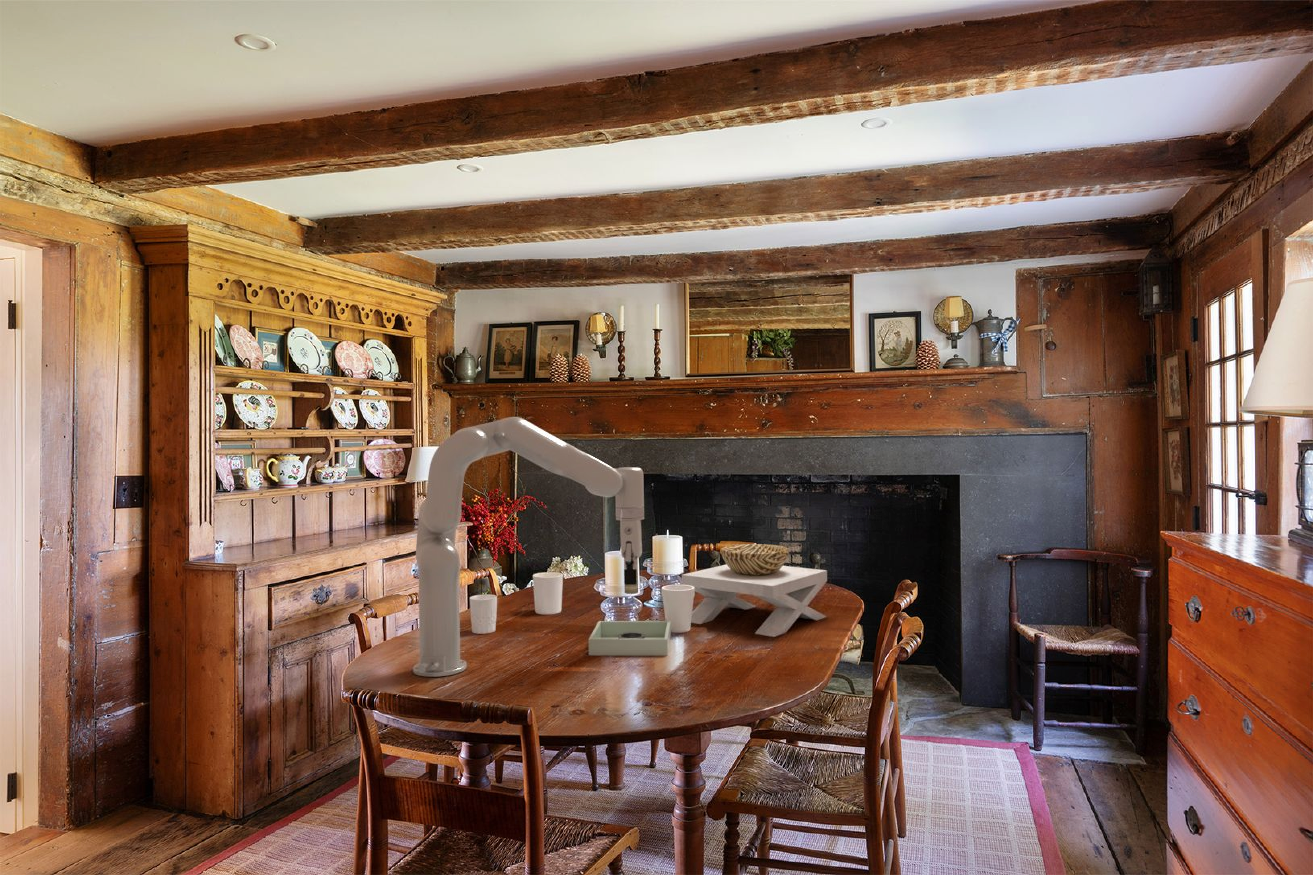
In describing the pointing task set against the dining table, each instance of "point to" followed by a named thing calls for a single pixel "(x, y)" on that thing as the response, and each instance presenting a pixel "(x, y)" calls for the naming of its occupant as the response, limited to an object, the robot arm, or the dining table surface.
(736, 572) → the grey stool with basket
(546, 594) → the candle holder
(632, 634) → the wick clip
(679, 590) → the foam cup
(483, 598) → the white cup
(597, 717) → the dining table surface
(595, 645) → the pale green rectangular tray
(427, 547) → the robot arm
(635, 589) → the wick peg
